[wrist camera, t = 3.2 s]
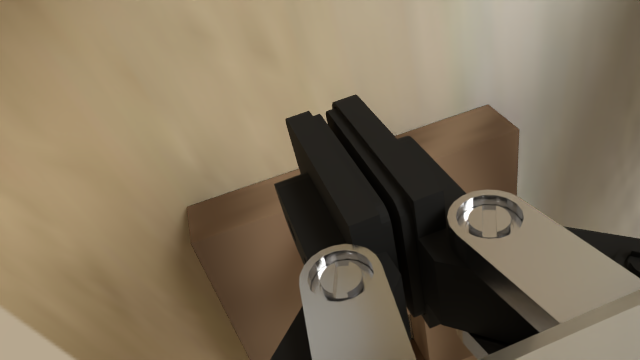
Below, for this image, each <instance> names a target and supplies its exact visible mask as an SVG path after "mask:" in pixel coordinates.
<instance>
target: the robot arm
mask: <svg viewBox="0 0 640 360" xmlns="http://www.w3.org/2000/svg"><path fill="white" fill-rule="evenodd" d="M332 108H333V109H332V110H329V111H326V118H327V122H328V124H327V123H326V122H325V120H324V119H323V117H322V116H321V115H320V114H318V115H315V116H312V114H311V113H310V112H309V111H307V112H304V113H301V114H298V115H295V116H293V117H290V118H287V119H286V125H287V128H288V132H289V135H290V139H291V142H292V146H293V149H294V153H295V156H296V160H297V163H298V166H299V170H300V173H301V174H300V175H297V176H294V177H292V178H289V179H286V180H283V181H281V182H278V183H275V184H274V186H275V189H276V192H277V195H278V198H279V201H280V204H281V207H282V210H283V213H284V216H285V219H286V222H287V224H288V227H289V230H290V232H291V235H292V237H293V240H294V242H295V245H296V247H297V250H298V252H299V254H300V257H301V259H302V262H303V264H304V266H303V269H302V271H301V273H300V277H299V287H300V293H301V299H302V305H303V306H302V307H301V309H300V311H299V312H298V314H297V316H296V317H295V319H294V321H293V322H292V324H291V326H290V327H289V329H288V331H287V332H286V334H285V336H284V337H283V339H282V341H281V342H280V344H279V346H278V347H277V349H276V351H275V352H274V354H273V356H272V357H271V359H270V360H416V357H415V354H414V352H413V349H412V346H411V343H410V340H411V332H410V326H409V320H408V314H407V309H408V310H409V312H410V314H411V315H412V316H413V317H417V316H419V315H421V316H422V317H423V319H424V320H425V322H426V324H427V325H428V327H429V328H433V327H435V326H438V325H440V324H441V325H443V326H447V327H451V328H454V329H456V331H457V335H458V336H459V338H460V340H461V341H462V343H463V344H464V345H465V346H466V347H467V348H468V349H469V350H470V352H471V353H472V354H473V355H474V356H475V357H476V358H477V359H478V360H640V239H638V238H632V237H626V236H620V235H613V234H607V233H601V232H594V231H588V230H582V229H575V228H569V227H563V226H561V225H560V224H558V223H557V222H555V221H554V220H552V219H551V218H549V217H548V216H547V215H545V214H544V213H542V212H541V211H539V210H538V209H536V208H535V207H533V206H532V205H530V204H529V203H527V202H526V201H524V200H523V199H521V198H519V197H517V196H515V195H513V194H511V193H508V192H504V191H500V190H479V191H473V192H471V193H468V194H466V193H465V191H464V190H463V189H462V188H461V187H460V186H459V185H458V184H457V183H456V182H455V181H454V180H453V179H452V178H451V177H450V176H449V175H448V174H447V173H446V172H445V171H444V170H443V169H442V168H441V167H440V166H439V165H438V164H437V163H436V162H435V160H434V159H433V158H432V157H431V156H430V155H429V154H428V153H427V152H426V151H425V150H424V149H423V148H422V147H421V146H420V145H419V144H418V143H417V142H416V141H415V140H414V139H413V138H412V137H411V136H404V137H401V138H398V139H397V138H396V137H395V136H394V135H393V134H392V133H391V132H390V131H389V130H388V129H387V127H386V126H385V125H384V124H383V123H382V122H381V121H380V120H379V119H378V118H377V116H376V115H375V114H374V113H373V112H372V111H371V110H370V109H369V108H368V107H367V105H366V104H365V103H364V102H363V101H362V100H361V99H360V98H359V97H358V96H357V95H353V96H350V97H347V98H344V99H341V100H338V101H336V102H333V104H332Z"/></svg>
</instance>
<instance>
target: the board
mask: <svg viewBox="0 0 640 360" xmlns="http://www.w3.org/2000/svg"><path fill="white" fill-rule="evenodd" d="M404 136H411V137H412V138H413V139H414V140H415V141H416V142H417V143H418V144H419V145H420V146H421V147H422V148H423V149H424V150H425V151H426V152H427V153H428V154H429V155H430V156H431V157H432V158H433V159H434V160H435V162H436V163H437V164H438V165H439V166H440V167H441V168H442V169H443V170H444V171H445V172H446V173H447V174H448V175H449V176H450V177H451V178H452V179H453V180H454V181H455V182H456V183H457V184H458V185H459V186H460V187H461V188H462V189H463V190H464V191H465V193H466V194H468V193H471V192H473V191H479V190H500V191H504V192H508V193H511V194H513V195H515V196H517V173H518V147H519V129H518V128H517V127H516V126H514V125H513V124H512V123H511V122H509V121H508V120H507V119H506V118H504V117H503V116H502V115H501V114H499V113H498V112H497V111H496V110H494V109H493V108H492V107H491V106H489V105H485V106H482V107H479V108H476V109H473V110H470V111H467V112H465V113H462V114H459V115H456V116H453V117H450V118H447V119H444V120H441V121H438V122H435V123H432V124H429V125H426V126H423V127H420V128H418V129H415V130H412V131H409V132H406V133H403V134H400V135H397V136H395V137H396V138H397V139H398V138H401V137H404ZM300 174H301V173H300V170H299V169H297V170H294V171H291V172H288V173H285V174H282V175H279V176H276V177H274V178H271V179H268V180H265V181H262V182H259V183H256V184H253V185H250V186H247V187H244V188H241V189H238V190H235V191H232V192H229V193H227V194H224V195H221V196H218V197H215V198H212V199H209V200H206V201H203V202H200V203H197V204H194V205H191V206H188V207H187V212H188V222H189V231H190V240H191V245H192V247H193V249H194V251H195V253H196V255H197V257H198V259H199V261H200V263H201V265H202V266H203V268H204V270H205V272H206V274H207V276H208V278H209V280H210V282H211V284H212V286H213V288H214V290H215V292H216V294H217V296H218V298H219V300H220V302H221V304H222V306H223V308H224V310H225V312H226V314H227V316H228V318H229V319H230V321H231V323H232V325H233V327H234V329H235V331H236V333H237V335H238V337H239V339H240V341H241V343H242V345H243V347H244V349H245V351H246V353H247V355H248V357H249V359H250V360H270V359H271V357H272V356H273V354H274V352H275V351H276V349H277V347H278V346H279V344H280V342H281V341H282V339H283V337H284V336H285V334H286V332H287V331H288V329H289V327H290V326H291V324H292V322H293V321H294V319H295V317H296V316H297V314H298V312H299V311H300V309H301V307H302V306H303V305H302V299H301V293H300V287H299V277H300V273H301V271H302V269H303V266H304V264H303V262H302V259H301V257H300V254H299V252H298V250H297V247H296V245H295V242H294V240H293V237H292V235H291V232H290V230H289V227H288V224H287V222H286V219H285V216H284V213H283V210H282V207H281V204H280V201H279V198H278V195H277V192H276V189H275V186H274V184H275V183H278V182H281V181H283V180H286V179H289V178H292V177H294V176H297V175H300ZM407 314H408V315H410V317H411V324H412V330H413V336H414V339H412V340H410V343H411V346H412V349H413V352H414V354H415V357H416V360H478V359H477V358H476V357H475V356H474V355H473V354H472V353H471V352H470V350H469V349H468V348H467V347H466V346H465V345H464V344H463V343H462V341H461V340H460V338H459V336H458V335H457V331H456V329H454V328H451V327H447V326H443V325H441V324H440V325H438V326H435V327H433V328H429V327H428V325H427V324H426V322H425V320H424V319H423V317H422V316H421V315H419V316H417V317H413V316H412V315H411V314H410V312H409V310H408V309H407Z"/></svg>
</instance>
